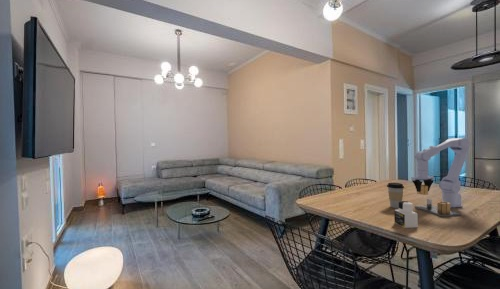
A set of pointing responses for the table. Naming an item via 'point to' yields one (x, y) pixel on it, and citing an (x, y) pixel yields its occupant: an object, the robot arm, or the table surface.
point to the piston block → (438, 209)
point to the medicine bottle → (406, 215)
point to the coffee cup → (395, 194)
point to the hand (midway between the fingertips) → (422, 191)
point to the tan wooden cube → (423, 190)
